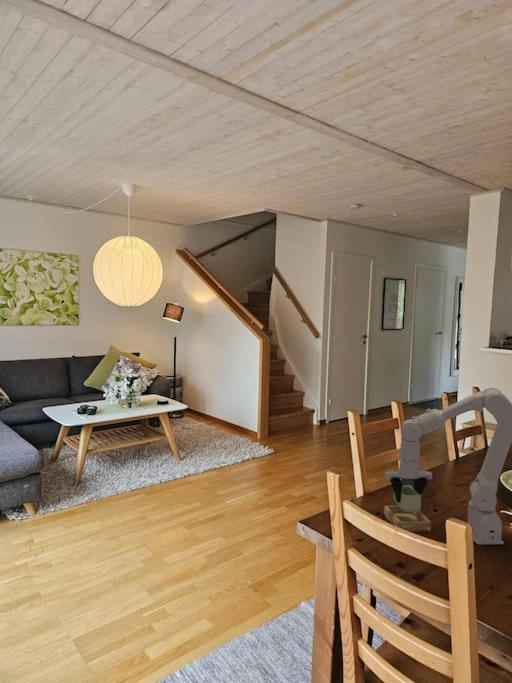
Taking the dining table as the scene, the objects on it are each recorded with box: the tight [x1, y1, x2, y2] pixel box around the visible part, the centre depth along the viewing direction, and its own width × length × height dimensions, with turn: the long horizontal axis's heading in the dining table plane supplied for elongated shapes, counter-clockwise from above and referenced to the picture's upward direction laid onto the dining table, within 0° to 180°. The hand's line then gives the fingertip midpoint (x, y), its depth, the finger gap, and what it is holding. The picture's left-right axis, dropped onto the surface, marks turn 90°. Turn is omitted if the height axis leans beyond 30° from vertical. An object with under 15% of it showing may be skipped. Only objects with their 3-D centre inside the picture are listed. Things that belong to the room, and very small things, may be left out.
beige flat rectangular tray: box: [383, 504, 432, 533], centre depth 143 cm, size 12×10×3 cm
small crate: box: [393, 486, 422, 512], centre depth 143 cm, size 8×5×5 cm
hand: (407, 501), depth 142 cm, fingers closed on small crate, 5 cm apart
